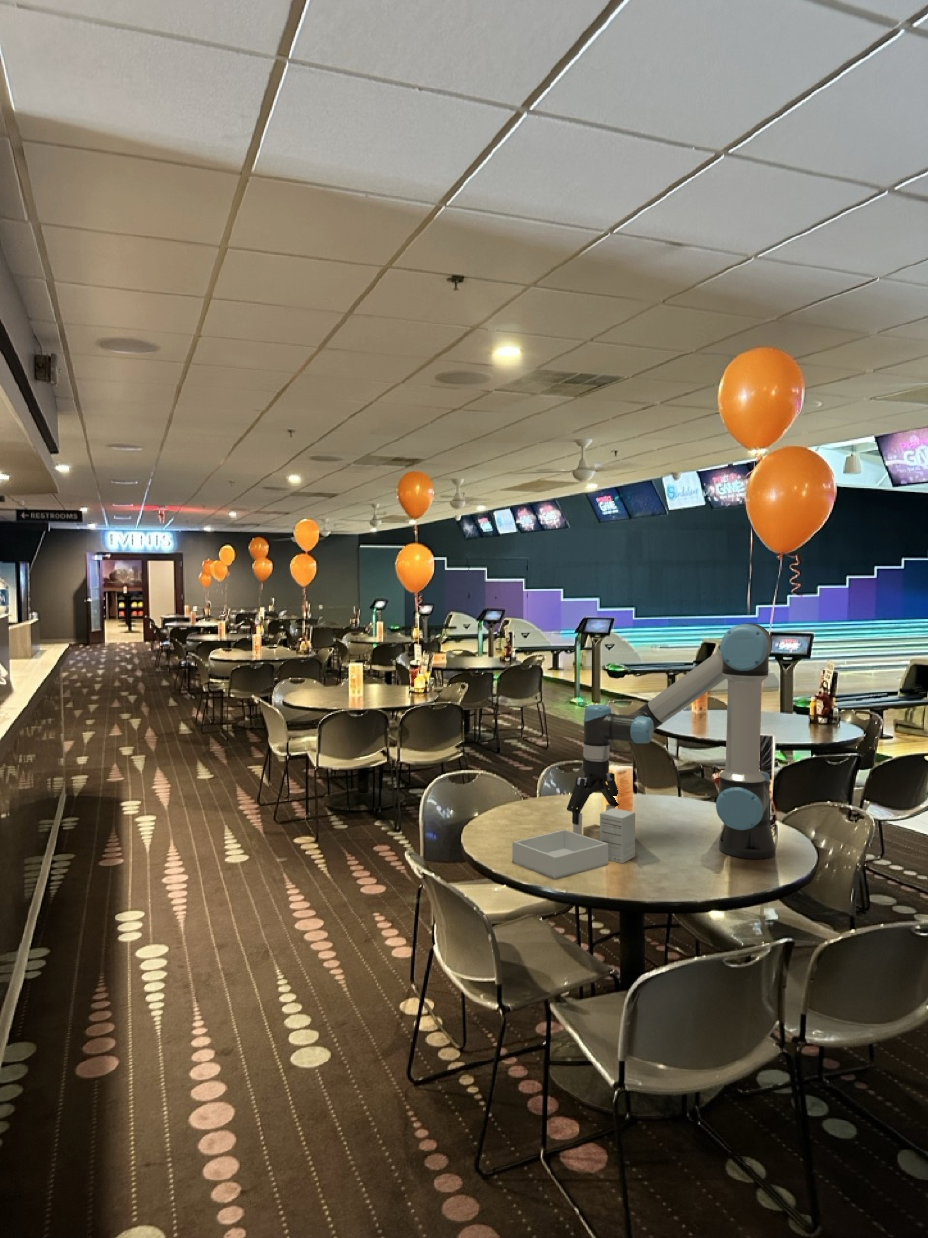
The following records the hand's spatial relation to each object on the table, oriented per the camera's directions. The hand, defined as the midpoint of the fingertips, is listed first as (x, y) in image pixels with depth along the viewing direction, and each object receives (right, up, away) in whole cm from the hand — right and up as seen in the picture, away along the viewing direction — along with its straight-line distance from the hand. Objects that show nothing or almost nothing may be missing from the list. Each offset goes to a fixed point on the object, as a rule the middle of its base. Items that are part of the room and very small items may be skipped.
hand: (593, 831), depth 240 cm
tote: (-12, -4, -17) cm, 21 cm away
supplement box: (+5, -4, -12) cm, 14 cm away
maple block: (0, -4, 0) cm, 4 cm away
